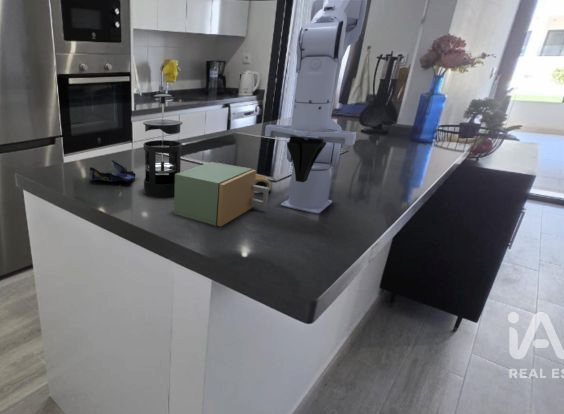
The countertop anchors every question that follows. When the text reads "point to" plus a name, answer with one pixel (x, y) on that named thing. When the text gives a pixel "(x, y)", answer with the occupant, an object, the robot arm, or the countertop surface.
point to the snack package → (116, 176)
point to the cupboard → (202, 190)
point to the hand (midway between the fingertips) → (301, 180)
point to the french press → (162, 183)
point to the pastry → (262, 182)
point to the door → (239, 197)
